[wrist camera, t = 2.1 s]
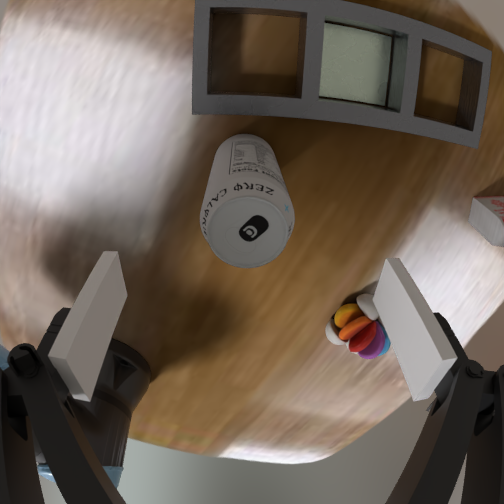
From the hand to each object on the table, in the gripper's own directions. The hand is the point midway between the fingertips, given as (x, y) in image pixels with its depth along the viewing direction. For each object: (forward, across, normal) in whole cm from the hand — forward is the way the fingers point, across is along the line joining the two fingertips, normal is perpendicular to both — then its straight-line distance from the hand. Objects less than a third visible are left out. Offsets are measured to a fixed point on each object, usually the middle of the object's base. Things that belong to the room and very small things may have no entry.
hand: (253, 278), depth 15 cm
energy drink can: (+20, 0, 0) cm, 20 cm away
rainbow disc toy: (+20, +17, -21) cm, 34 cm away
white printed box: (+20, +33, -3) cm, 38 cm away
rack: (+19, +10, +11) cm, 24 cm away
